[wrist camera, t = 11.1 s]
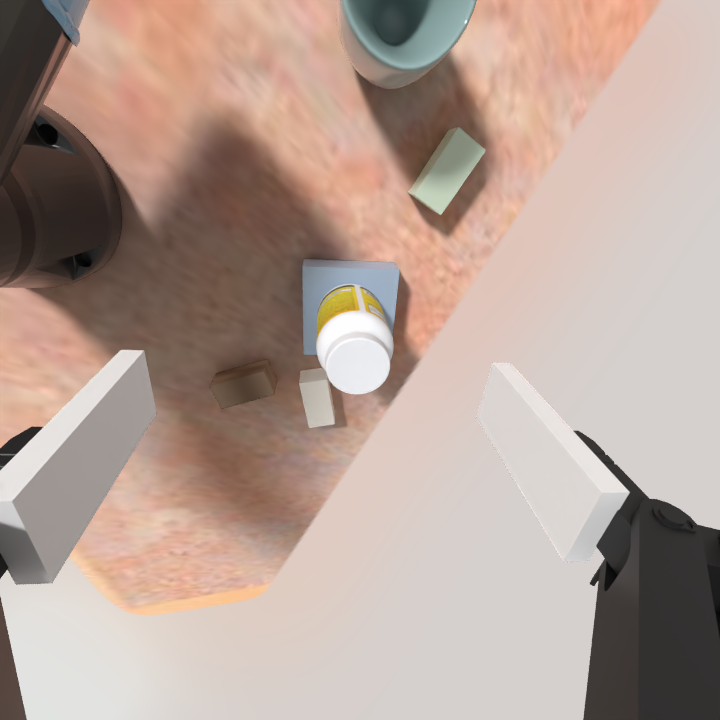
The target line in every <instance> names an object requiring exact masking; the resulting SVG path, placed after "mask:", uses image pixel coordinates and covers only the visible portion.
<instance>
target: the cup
mask: <svg viewBox="0 0 720 720" xmlns="http://www.w3.org/2000/svg"><path fill="white" fill-rule="evenodd" d="M476 1H477V0H337V26H338V31H339V36H340V41H341V44H342V46H343V49H344V51H345V54H346V56H347V58H348V59H349V61H350V63H351V64H352V66H353V67H354V68H355V70H356V71H357V72H358V73H359V74H360V75H361V76H362V77H363V78H365V79H366V80H367V81H368V82H370V83H372V84H374V85H375V86H378V87H382V88H385V89H397V88H401V87H404V86H408V85H409V84H411V83H413V82H415V81H416V80H418V79H420V78H421V77H423V76H424V75H425V74H426V73H428V72H429V71H430V70H431V69H432V68H433V67H435V66H436V65H437V64H438V63H439V62H440V61H441V60H442V59H444V58H445V57H446V55H447V54H448V53H449V52H450V51H451V49H452V48H453V47H454V46H455V45H456V43H457V42H458V40H459V39H460V37H461V35H462V34H463V32H464V31H465V29H466V27H467V25H468V23H469V20H470V18H471V16H472V14H473V11H474V8H475V4H476Z"/></svg>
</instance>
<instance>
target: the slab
mask: <svg viewBox="0 0 720 720" xmlns="http://www.w3.org/2000/svg"><path fill="white" fill-rule="evenodd" d="M399 273H400V270H399V268H398V267H397V265H396V264H395V263H392V262H367V261H342V260H317V259H304V261H303V266H302V282H303V355H317V350H316V339H317V314H318V308H319V305H320V302H321V300H322V299H323V297H324V296H325V295H326V294H327V293H328V292H329V291H330V290H331V289H333V288H335V287H337V286H339V285H343V284H357V285H361V286H363V287H365V288H367V289H369V290H370V291H371V292H372V293H373V294H374V295H375V296H376V298H377V299H378V301H379V303H380V305H381V308H382V310H383V313H384V316H385V318H386V321H387V324H388V326H389V328H390V331H391V334H392V337H393V328H394V319H395V310H396V301H397V291H398V282H399Z"/></svg>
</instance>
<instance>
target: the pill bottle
mask: <svg viewBox="0 0 720 720" xmlns="http://www.w3.org/2000/svg"><path fill="white" fill-rule="evenodd" d="M316 350H317V356H318V359H319V362H320V364H321V366H322V367H323V369H324V370H325V371H326V373H327V376H328V378H329V380H330V382H331V383H332V384H333V385H334V386H335V387H336V388H337V389H339V390H340V391H343V392H345V393H348V394H356V395H357V394H365V393H369V392H372V391H374V390H375V389H377V388H378V387H380V386H381V385H382V384H383V383H384V381H385V380H386V378H387V377H388V374H389V371H390V361H391V358H392V355H393V350H394V343H393V337H392V334H391V331H390V328H389V326H388V324H387V321H386V318H385V316H384V313H383V310H382V308H381V305H380V303H379V301H378V299H377V298H376V296H375V295H374V294H373V293H372V292H371V291H370V290H369V289H367V288H365V287H363V286H361V285H357V284H343V285H339V286H337V287H335V288H333V289H331V290H330V291H329V292H328V293H327V294H326V295H325V296H324V297H323V299H322V300H321V302H320V305H319V308H318V314H317V339H316Z"/></svg>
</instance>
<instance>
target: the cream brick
mask: <svg viewBox="0 0 720 720" xmlns="http://www.w3.org/2000/svg"><path fill="white" fill-rule="evenodd" d="M299 386H300V390H301V395H302V399H303V404H304V408H305V412H306V417H307V421H308V426H309V428H312V427H319V426H326V425H333V424H335V412H334V405H333V399H332V394H331V388H330V383H329V378H328V376H327V373H326V371H325V370H324V369H323V368H316V369H309V370H302V371H300V379H299Z"/></svg>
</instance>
